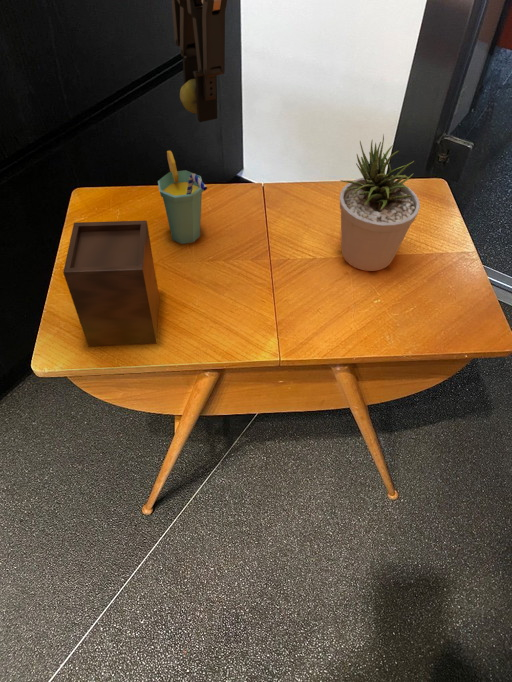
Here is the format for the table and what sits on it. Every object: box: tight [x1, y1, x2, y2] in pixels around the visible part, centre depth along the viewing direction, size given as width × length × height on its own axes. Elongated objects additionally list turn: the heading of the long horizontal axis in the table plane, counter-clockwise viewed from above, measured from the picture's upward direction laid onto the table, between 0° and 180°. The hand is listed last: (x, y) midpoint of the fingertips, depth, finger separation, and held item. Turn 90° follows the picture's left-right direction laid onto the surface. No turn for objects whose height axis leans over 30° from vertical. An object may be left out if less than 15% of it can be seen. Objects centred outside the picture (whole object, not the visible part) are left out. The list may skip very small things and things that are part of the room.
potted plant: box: [339, 133, 421, 272], centre depth 88 cm, size 13×14×20 cm
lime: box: [179, 78, 197, 115], centre depth 77 cm, size 4×5×5 cm
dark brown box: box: [63, 220, 160, 348], centre depth 78 cm, size 10×10×15 cm
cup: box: [157, 150, 208, 245], centre depth 91 cm, size 14×8×15 cm, turn 36°
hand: (201, 111), depth 78 cm, fingers closed on lime, 4 cm apart
